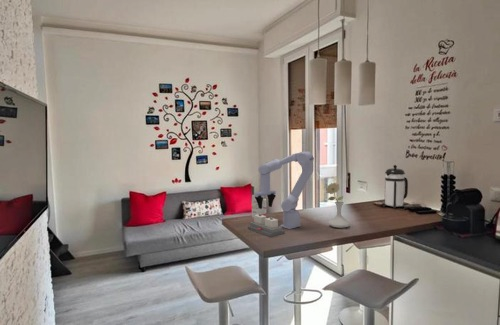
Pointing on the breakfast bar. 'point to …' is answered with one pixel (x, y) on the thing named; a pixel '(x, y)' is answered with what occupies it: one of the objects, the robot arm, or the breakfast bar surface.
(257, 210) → the ink cartridge box
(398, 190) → the coffee press
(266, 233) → the grey compartment holder
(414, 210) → the breakfast bar surface
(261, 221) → the plug
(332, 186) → the flower in vase
